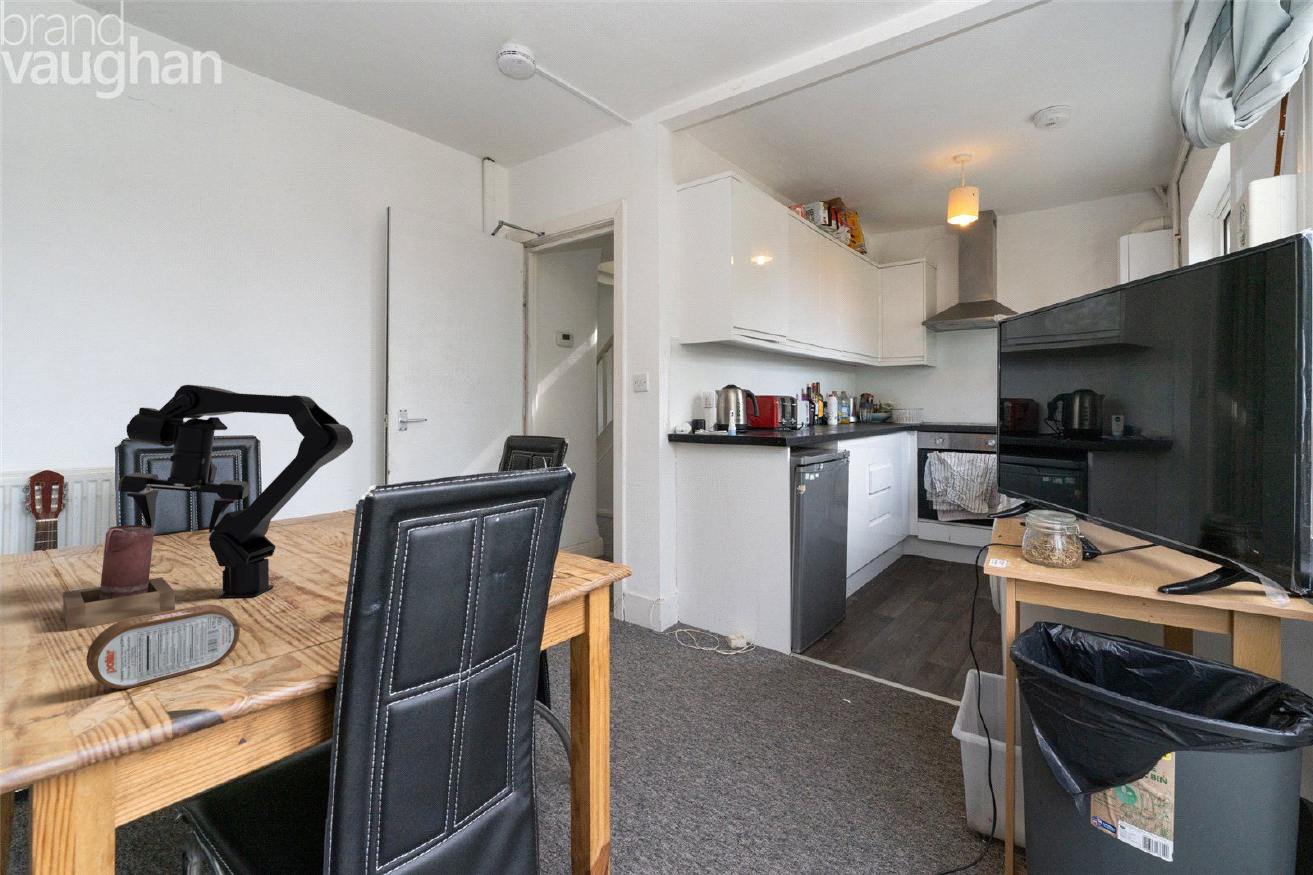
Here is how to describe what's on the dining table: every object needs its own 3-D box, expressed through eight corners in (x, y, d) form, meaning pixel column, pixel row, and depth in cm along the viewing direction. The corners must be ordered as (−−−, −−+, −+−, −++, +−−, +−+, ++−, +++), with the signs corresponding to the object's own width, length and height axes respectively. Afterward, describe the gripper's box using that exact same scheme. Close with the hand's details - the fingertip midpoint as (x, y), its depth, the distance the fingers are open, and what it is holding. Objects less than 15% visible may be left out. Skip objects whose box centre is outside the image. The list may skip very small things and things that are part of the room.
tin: (236, 655, 80) (235, 596, 80) (242, 661, 78) (242, 601, 78) (86, 693, 69) (85, 625, 69) (89, 702, 67) (88, 631, 67)
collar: (162, 595, 107) (162, 577, 107) (174, 610, 99) (174, 591, 99) (63, 612, 98) (62, 592, 98) (67, 630, 89) (67, 608, 89)
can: (86, 610, 96) (94, 527, 96) (126, 600, 102) (134, 522, 102) (117, 615, 95) (125, 532, 95) (155, 604, 101) (163, 526, 101)
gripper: (260, 452, 119) (250, 524, 120) (148, 440, 112) (137, 518, 112) (247, 457, 109) (236, 537, 110) (122, 445, 102) (110, 531, 102)
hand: (181, 530), depth 108 cm, fingers open, 9 cm apart
